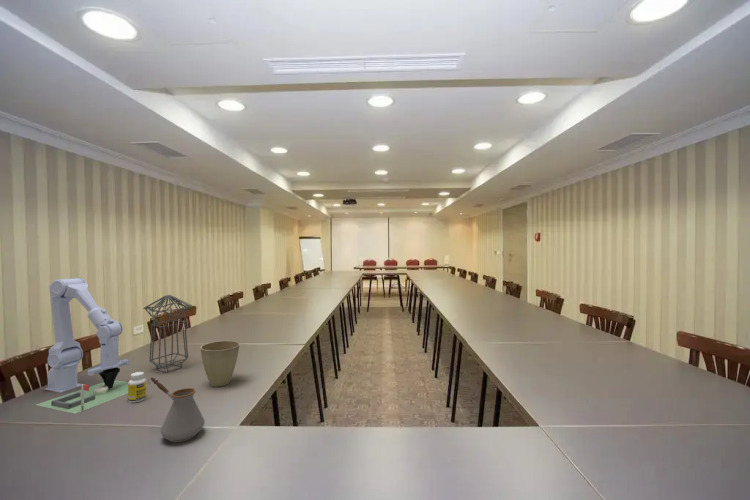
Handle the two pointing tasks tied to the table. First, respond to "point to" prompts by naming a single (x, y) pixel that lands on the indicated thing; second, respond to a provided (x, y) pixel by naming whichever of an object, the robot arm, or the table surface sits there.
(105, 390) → the stone
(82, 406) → the grey frame
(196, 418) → the coffee pot
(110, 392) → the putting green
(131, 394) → the supplement bottle
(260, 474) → the table surface
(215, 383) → the plant pot
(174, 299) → the geometric lantern
